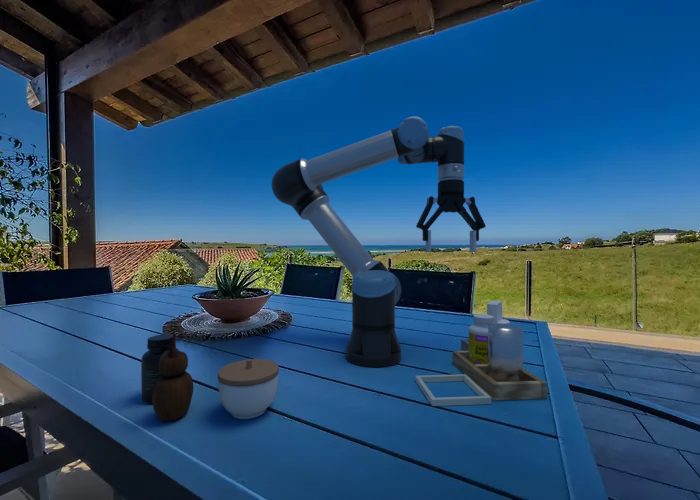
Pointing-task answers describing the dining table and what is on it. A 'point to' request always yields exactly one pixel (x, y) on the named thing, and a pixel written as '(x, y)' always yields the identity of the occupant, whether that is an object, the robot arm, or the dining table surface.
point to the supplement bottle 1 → (153, 363)
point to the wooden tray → (500, 390)
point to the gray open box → (464, 344)
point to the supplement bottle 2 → (479, 338)
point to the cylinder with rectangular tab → (496, 312)
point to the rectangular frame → (448, 401)
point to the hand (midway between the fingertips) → (450, 252)
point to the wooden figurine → (172, 386)
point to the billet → (505, 352)
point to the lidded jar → (248, 387)
